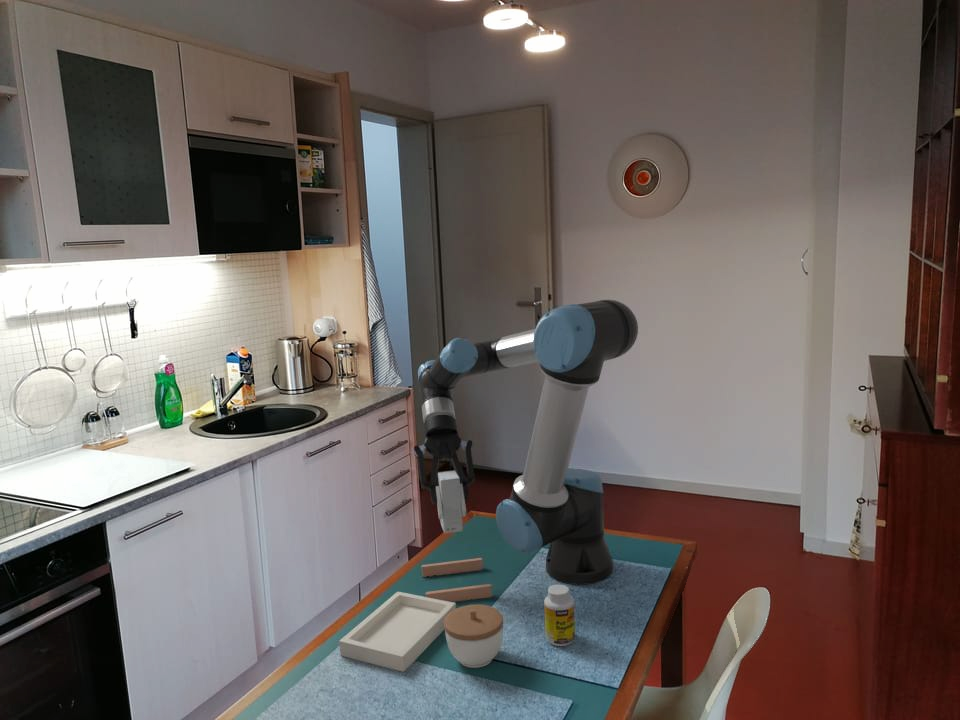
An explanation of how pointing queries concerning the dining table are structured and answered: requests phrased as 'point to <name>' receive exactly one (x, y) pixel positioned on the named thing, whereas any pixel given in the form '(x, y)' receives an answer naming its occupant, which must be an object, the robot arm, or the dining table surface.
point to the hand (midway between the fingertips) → (452, 515)
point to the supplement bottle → (559, 616)
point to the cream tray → (397, 631)
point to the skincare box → (450, 501)
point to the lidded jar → (474, 634)
